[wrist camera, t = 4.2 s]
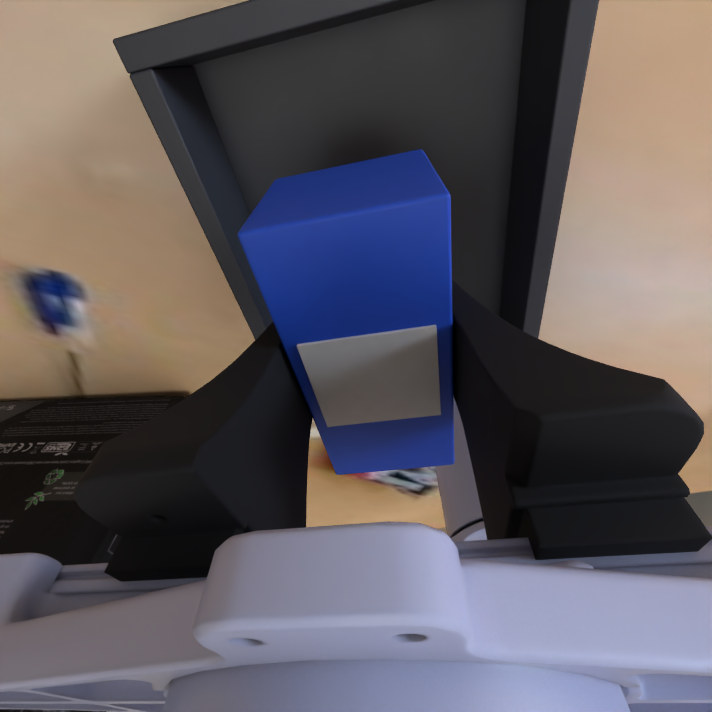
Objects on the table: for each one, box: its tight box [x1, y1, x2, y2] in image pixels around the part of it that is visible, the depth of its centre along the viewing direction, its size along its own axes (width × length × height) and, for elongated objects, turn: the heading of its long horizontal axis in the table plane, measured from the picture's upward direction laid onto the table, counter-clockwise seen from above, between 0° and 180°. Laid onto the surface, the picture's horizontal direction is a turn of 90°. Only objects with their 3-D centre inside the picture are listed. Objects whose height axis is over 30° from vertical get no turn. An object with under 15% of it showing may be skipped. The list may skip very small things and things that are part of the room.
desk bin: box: [113, 0, 599, 340], centre depth 16 cm, size 17×14×4 cm
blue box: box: [238, 149, 455, 475], centre depth 11 cm, size 9×4×4 cm, turn 11°
